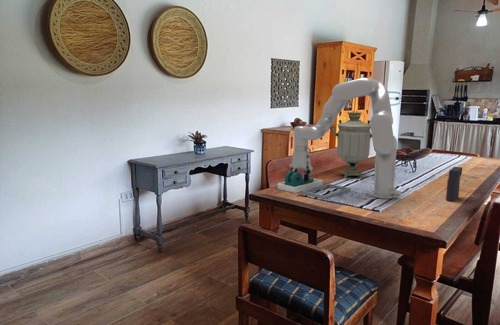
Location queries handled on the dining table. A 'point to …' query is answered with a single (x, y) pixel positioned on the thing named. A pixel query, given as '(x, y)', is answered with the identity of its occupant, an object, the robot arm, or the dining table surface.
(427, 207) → the dining table surface
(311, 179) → the bracket
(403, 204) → the dining table surface
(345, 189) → the grey rectangular frame
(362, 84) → the robot arm
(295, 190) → the parts tray
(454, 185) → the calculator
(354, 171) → the samovar
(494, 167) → the dining table surface
